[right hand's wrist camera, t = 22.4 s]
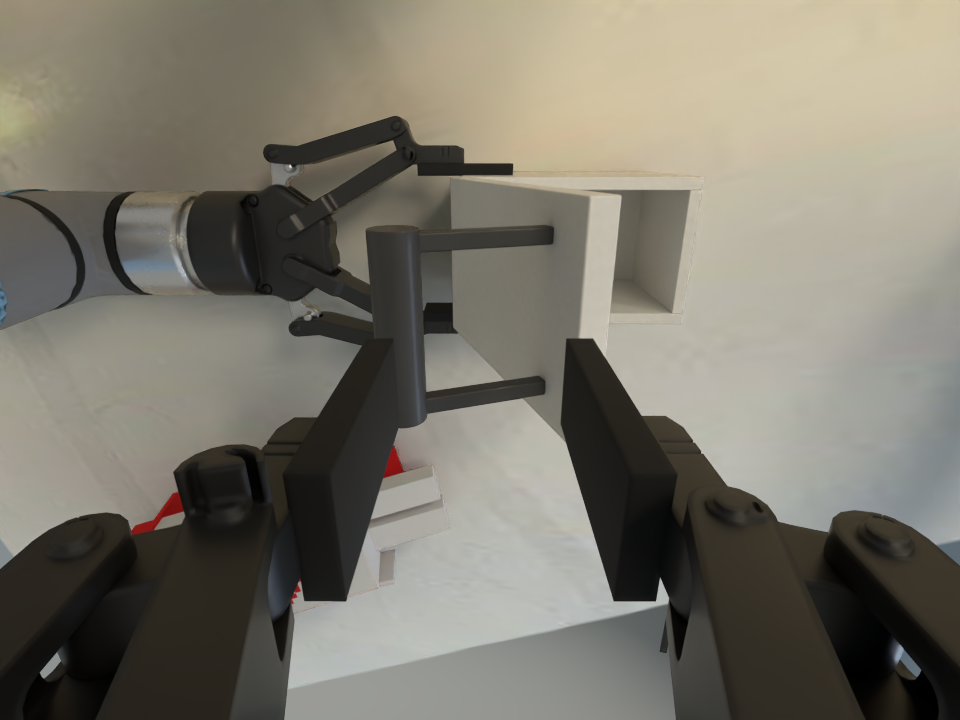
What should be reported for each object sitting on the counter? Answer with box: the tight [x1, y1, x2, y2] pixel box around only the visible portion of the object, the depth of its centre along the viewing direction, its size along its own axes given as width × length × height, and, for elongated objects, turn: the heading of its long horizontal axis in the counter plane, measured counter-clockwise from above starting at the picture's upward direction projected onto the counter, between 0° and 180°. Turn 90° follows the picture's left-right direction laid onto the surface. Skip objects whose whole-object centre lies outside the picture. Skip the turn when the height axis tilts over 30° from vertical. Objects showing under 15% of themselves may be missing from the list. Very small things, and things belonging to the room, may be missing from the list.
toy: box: [131, 446, 450, 614], centre depth 50 cm, size 12×13×30 cm
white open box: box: [461, 172, 704, 324], centre depth 39 cm, size 16×10×11 cm, turn 90°
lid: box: [366, 177, 622, 442], centre depth 25 cm, size 16×10×8 cm
